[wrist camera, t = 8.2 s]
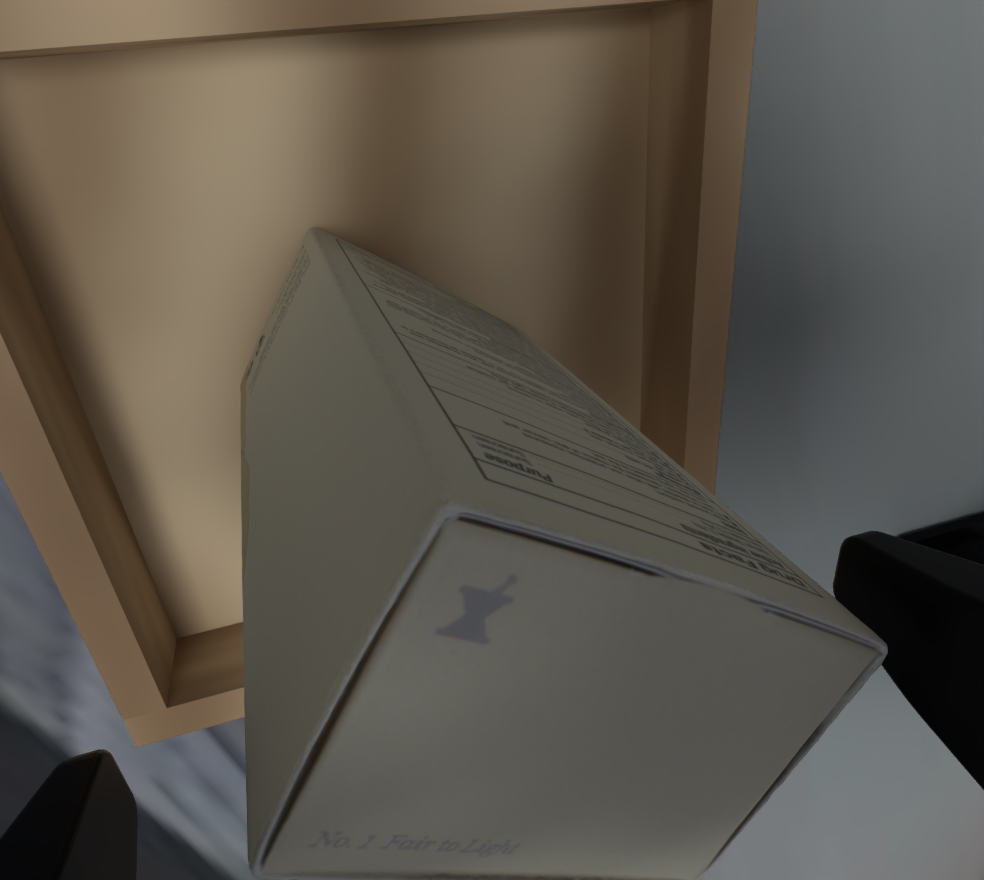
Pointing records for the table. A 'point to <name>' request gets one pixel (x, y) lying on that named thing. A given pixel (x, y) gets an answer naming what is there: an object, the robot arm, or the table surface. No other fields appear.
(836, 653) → the skincare box
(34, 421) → the tray
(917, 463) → the table surface
